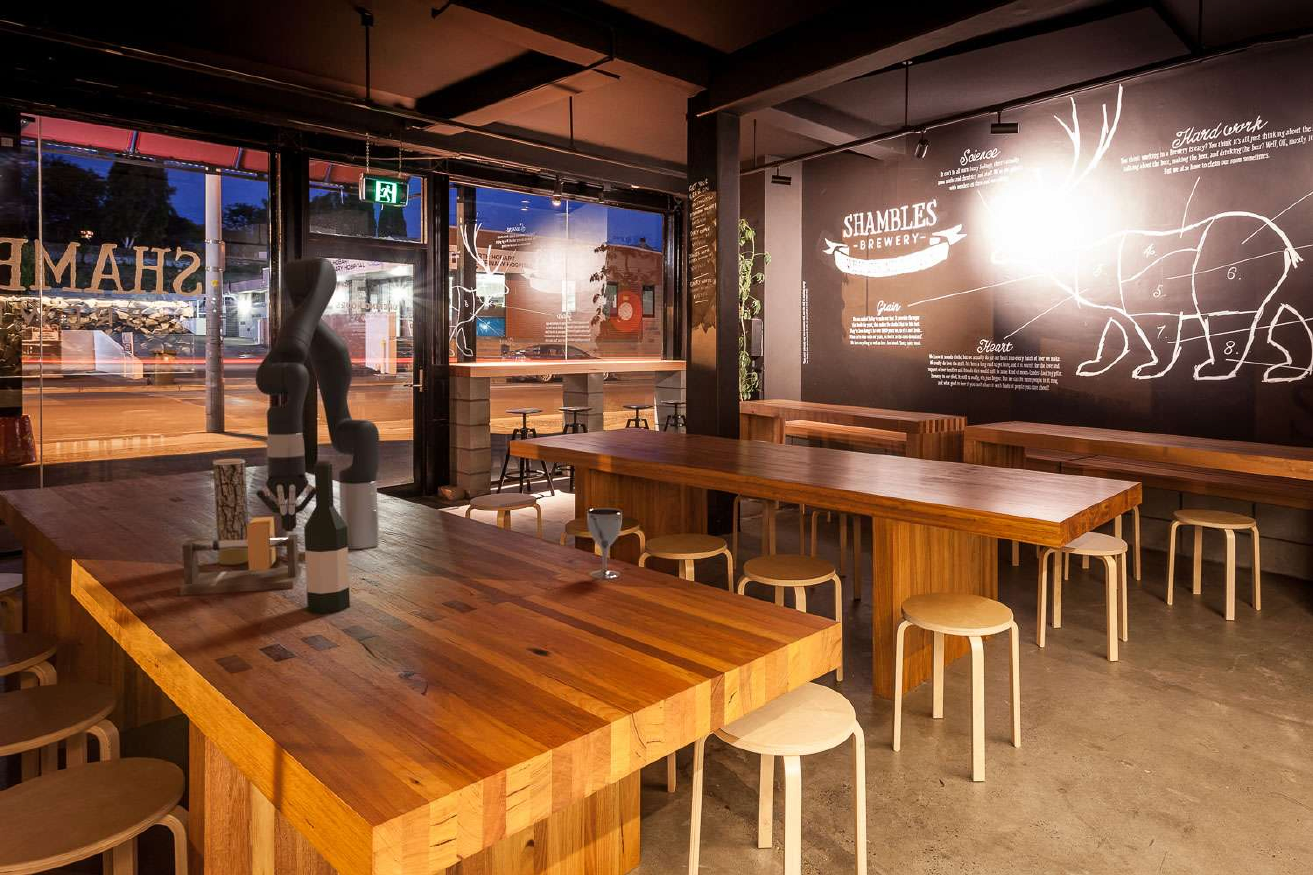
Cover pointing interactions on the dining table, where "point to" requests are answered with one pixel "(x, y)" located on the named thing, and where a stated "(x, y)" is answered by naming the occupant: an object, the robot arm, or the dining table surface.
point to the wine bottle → (326, 549)
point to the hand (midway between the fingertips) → (289, 530)
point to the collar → (260, 543)
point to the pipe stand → (238, 579)
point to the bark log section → (231, 507)
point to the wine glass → (604, 535)
